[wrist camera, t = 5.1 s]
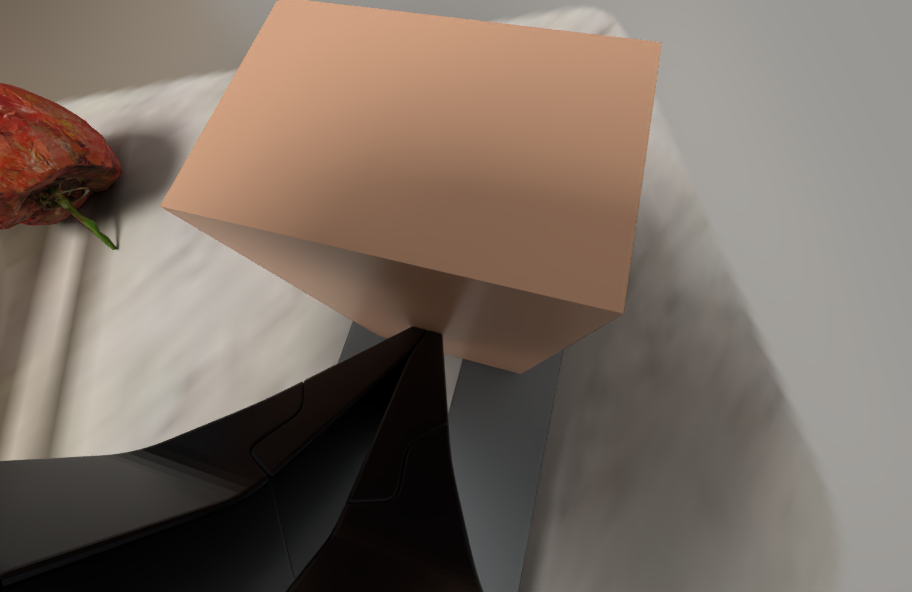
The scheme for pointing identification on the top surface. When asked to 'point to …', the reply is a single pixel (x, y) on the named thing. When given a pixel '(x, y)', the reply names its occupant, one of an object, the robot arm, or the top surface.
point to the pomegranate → (49, 162)
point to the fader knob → (432, 173)
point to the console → (492, 453)
